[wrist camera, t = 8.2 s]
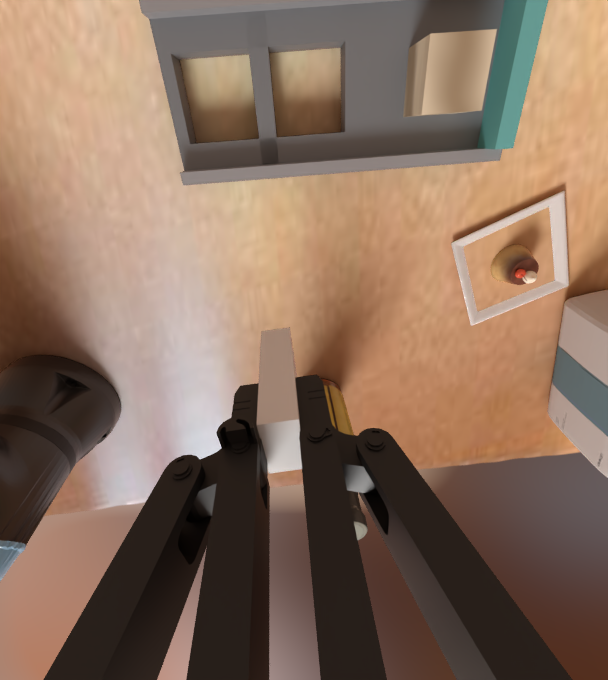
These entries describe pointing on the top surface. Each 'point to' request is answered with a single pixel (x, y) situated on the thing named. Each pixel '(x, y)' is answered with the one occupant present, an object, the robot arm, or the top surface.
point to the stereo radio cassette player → (583, 377)
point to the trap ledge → (346, 81)
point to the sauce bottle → (343, 425)
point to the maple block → (448, 73)
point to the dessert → (517, 260)
